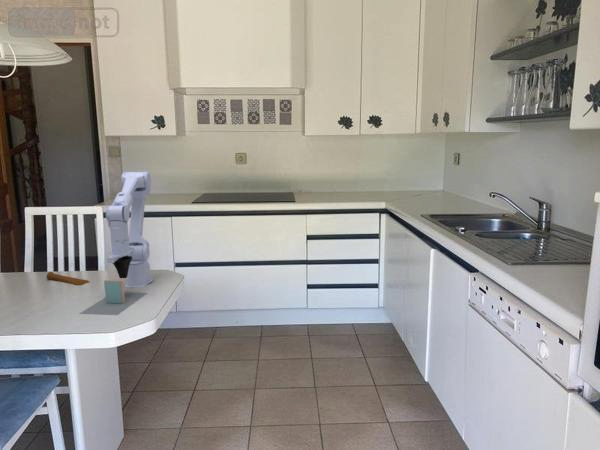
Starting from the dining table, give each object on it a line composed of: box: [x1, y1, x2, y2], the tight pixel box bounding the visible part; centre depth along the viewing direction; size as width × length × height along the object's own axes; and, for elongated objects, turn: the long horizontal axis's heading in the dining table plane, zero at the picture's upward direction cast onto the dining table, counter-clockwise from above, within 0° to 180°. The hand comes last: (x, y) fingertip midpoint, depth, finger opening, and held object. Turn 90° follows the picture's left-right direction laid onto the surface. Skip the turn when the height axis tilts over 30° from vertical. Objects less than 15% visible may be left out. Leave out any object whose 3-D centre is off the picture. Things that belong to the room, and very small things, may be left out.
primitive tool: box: [45, 271, 90, 286], centre depth 179 cm, size 19×6×4 cm, turn 71°
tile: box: [103, 278, 125, 304], centre depth 152 cm, size 2×6×8 cm, turn 83°
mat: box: [79, 291, 148, 316], centre depth 153 cm, size 21×13×1 cm, turn 173°
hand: (123, 277), depth 158 cm, fingers closed
